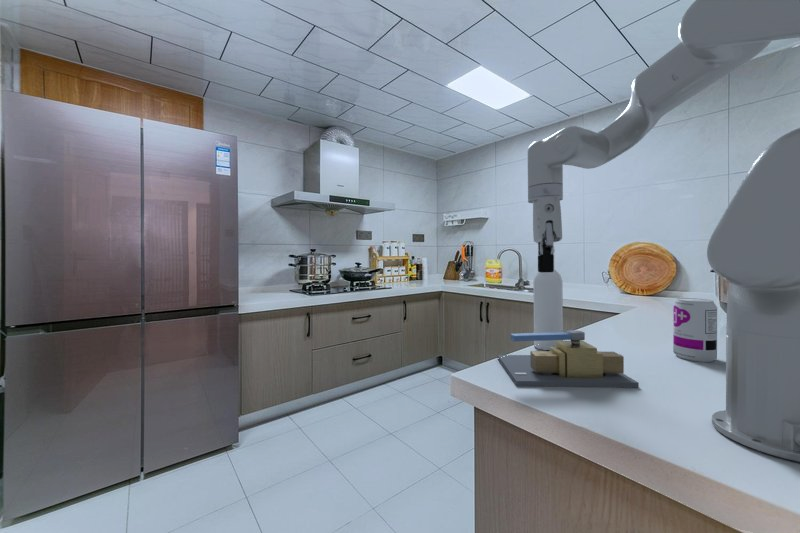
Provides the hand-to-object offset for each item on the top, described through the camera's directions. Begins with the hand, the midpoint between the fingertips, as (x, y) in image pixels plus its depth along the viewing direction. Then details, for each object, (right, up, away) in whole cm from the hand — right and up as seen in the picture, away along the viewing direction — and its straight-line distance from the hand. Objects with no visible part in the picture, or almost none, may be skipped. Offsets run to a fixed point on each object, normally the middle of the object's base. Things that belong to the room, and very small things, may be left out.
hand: (545, 271), depth 76 cm
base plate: (+2, -23, -2) cm, 23 cm away
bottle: (+9, -23, +18) cm, 30 cm away
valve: (+4, -23, -6) cm, 24 cm away
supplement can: (+41, -22, +6) cm, 47 cm away
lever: (-2, -15, -6) cm, 16 cm away
